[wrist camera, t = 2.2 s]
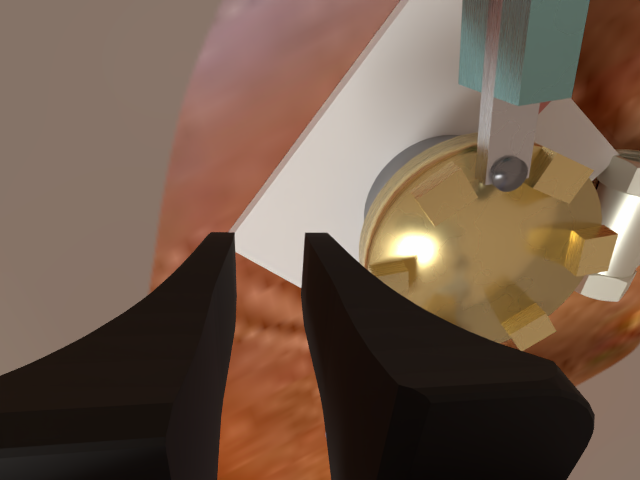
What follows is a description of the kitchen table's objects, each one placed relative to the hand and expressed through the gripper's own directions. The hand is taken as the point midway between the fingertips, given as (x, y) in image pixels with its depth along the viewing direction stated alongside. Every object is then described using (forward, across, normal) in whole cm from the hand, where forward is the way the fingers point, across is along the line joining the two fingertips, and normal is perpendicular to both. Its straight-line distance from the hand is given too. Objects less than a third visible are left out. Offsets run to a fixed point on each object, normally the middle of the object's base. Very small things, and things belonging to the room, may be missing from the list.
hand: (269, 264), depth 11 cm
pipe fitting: (+11, -22, +3) cm, 24 cm away
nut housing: (+10, -9, +2) cm, 14 cm away
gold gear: (+6, -8, -1) cm, 10 cm away
